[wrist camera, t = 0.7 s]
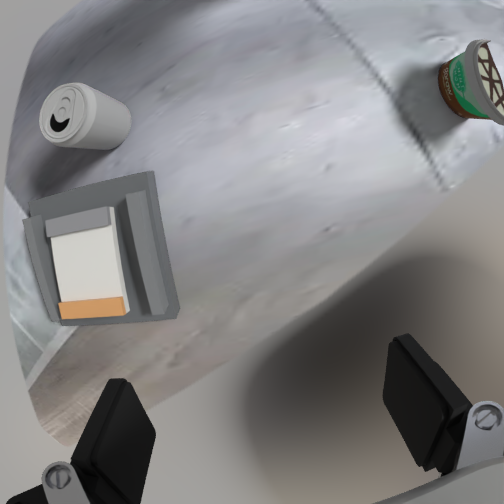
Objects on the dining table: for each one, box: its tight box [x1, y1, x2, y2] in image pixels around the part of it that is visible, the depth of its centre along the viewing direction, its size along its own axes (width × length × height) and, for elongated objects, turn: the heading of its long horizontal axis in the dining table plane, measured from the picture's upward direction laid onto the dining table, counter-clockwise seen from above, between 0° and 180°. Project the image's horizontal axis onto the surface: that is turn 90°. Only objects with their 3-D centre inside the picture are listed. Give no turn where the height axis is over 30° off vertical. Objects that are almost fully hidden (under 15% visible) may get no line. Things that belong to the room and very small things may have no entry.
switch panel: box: [23, 171, 180, 326], centre depth 34 cm, size 18×18×6 cm
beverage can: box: [39, 83, 131, 150], centre depth 26 cm, size 6×6×12 cm
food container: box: [438, 40, 504, 125], centre depth 27 cm, size 12×6×10 cm, turn 17°
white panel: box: [45, 206, 130, 319], centre depth 31 cm, size 12×9×2 cm
